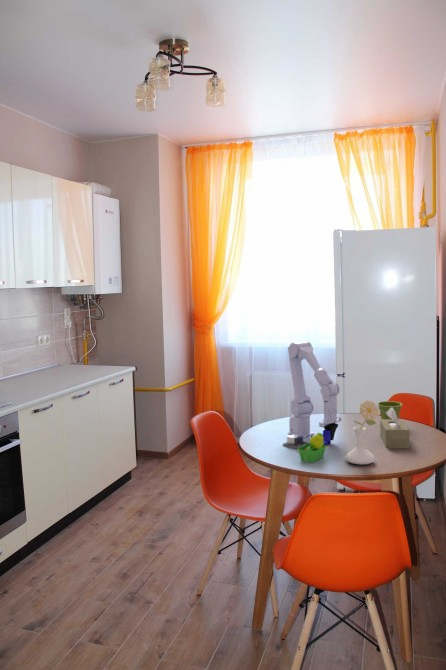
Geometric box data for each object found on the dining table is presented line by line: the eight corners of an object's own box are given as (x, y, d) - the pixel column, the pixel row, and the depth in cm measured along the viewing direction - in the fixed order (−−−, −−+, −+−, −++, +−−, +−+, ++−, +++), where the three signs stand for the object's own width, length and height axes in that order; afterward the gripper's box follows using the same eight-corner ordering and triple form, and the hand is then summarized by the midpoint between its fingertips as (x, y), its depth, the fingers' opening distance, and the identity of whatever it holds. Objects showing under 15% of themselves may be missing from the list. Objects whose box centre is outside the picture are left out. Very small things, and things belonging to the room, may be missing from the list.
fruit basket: (311, 453, 230) (310, 427, 229) (330, 457, 224) (329, 430, 223) (296, 461, 221) (296, 433, 220) (316, 465, 216) (315, 437, 215)
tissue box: (380, 436, 254) (379, 402, 252) (401, 436, 252) (401, 402, 251) (385, 448, 235) (385, 412, 234) (409, 448, 234) (409, 412, 232)
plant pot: (372, 425, 273) (372, 402, 272) (390, 421, 278) (390, 400, 277) (388, 430, 262) (388, 407, 261) (407, 427, 267) (407, 404, 266)
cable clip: (321, 442, 246) (321, 429, 245) (330, 443, 243) (330, 430, 242) (307, 448, 237) (307, 435, 236) (316, 450, 234) (316, 436, 233)
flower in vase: (345, 466, 213) (345, 403, 210) (344, 457, 224) (344, 397, 222) (380, 467, 210) (380, 403, 208) (377, 458, 221) (377, 397, 219)
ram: (287, 445, 243) (287, 436, 242) (295, 442, 247) (295, 433, 246) (295, 447, 239) (295, 438, 239) (303, 444, 244) (303, 435, 243)
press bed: (278, 447, 240) (278, 445, 240) (299, 439, 251) (299, 437, 251) (309, 455, 228) (309, 452, 228) (330, 446, 239) (330, 444, 239)
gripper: (328, 414, 236) (328, 445, 237) (346, 408, 246) (347, 437, 247) (315, 411, 241) (315, 442, 242) (333, 406, 251) (334, 435, 252)
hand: (330, 439), depth 245 cm, fingers closed
